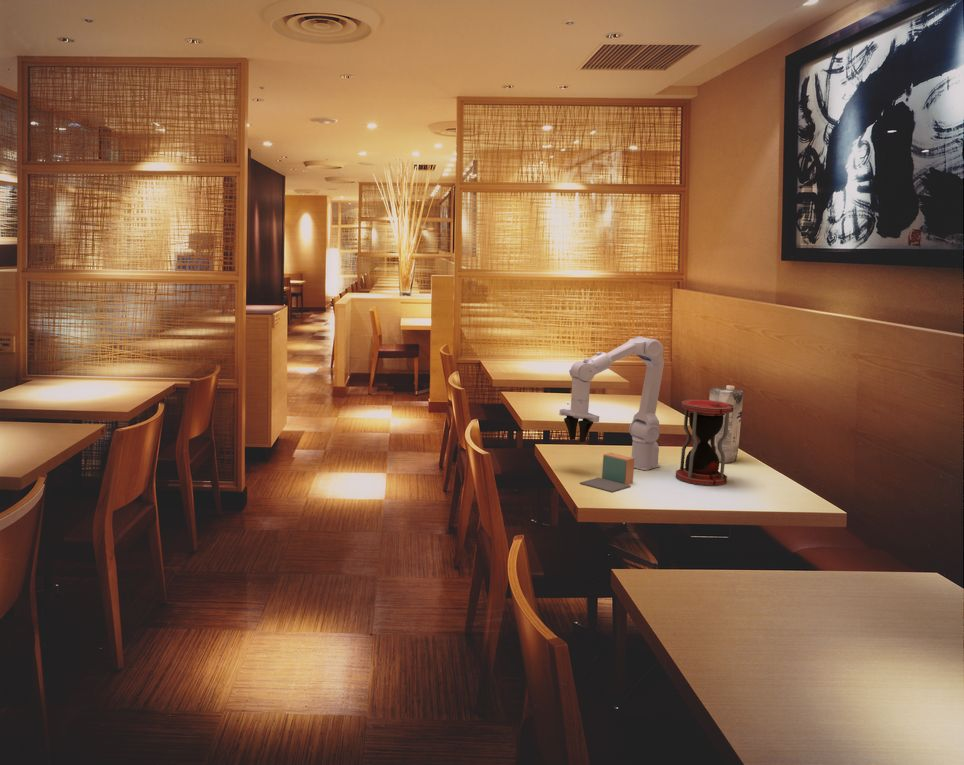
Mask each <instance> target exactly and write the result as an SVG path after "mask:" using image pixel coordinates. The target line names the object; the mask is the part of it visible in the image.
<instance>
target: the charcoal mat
mask: <svg viewBox="0 0 964 765" xmlns="http://www.w3.org/2000/svg"><path fill="white" fill-rule="evenodd" d="M579 485H583V486H586V487H590V488H594V489H598V490H602V491H605V492H609V493H615V492H618V491H621V490H625V489H629V488H631V487H632V486H631V485H630V484H627V485H626V484H622V483H618V482H615V481H611V480H607V479H603V478H602V477H596V478H591V479H588V480H584V481H581V482H579Z"/></svg>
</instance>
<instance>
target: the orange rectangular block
mask: <svg viewBox="0 0 964 765" xmlns="http://www.w3.org/2000/svg"><path fill="white" fill-rule="evenodd" d="M602 456H603V457H602V469H601V470H602V471H601V478H603V479H607V480H611V481H615V482H618V483H622V484H626V485H630V484H632V483H633V482H634V470H635V468H634V459H635V458H632V456H628V455H623V454H619V453H614V452H608V453H604V454H603V455H602ZM629 483H630V484H629Z"/></svg>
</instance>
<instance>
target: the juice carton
mask: <svg viewBox="0 0 964 765" xmlns="http://www.w3.org/2000/svg"><path fill="white" fill-rule="evenodd" d="M735 388H736V387H735V385H726V387H713V388H709V396H708V397H709V398H708V400H711V401H720V402H724V403H728V404H731V405H733V412H731V413H729V422H728V433H727V436H726V438H725V439H724V440H723V442H722V450H723V452H724V454H725V464H727V463H734V462H736V461H737V457H738V453H739V445H740V435H741V426H742V425H741V423H742V415H743V414H742V413H743V402H744V391H743V390H738V389H735ZM725 416H726V413H725V415H723V425H722V428H721V430H720V431H719V432H718V433H717V434H716V435H715V446H716V454H717V455H718V458H719V463H721V454H720V452H719V451H718V446H717V444H718V442H719V439H721V438H722V436H723V434H724V426H725ZM708 444H709V445H710V446H711V440H709V441H708ZM711 447H712V446H711Z"/></svg>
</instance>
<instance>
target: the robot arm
mask: <svg viewBox="0 0 964 765" xmlns="http://www.w3.org/2000/svg"><path fill="white" fill-rule="evenodd" d="M663 352H664V345H663V344H662V342H660V341H659V340H658V339H657V338H649V337H643V336H641V335H639V336H635V337H634V338H631V339H630V338H629V340H628V341H626V342H624V343H623V344H621V345H620V346H617V347H616V348H614V349H612V350H610V351H608V352H604V351H597V352H595V354H594V355H593V356H590V357H589V358H587V357H586V358H584V359H583V360H582V361H576V362H574V363H573V364H572V365H571V367H570V369H569V375H570V377H571V383H572V384H571V395H570V396H571V398H570V409H566V408H561V409H559V416H564V418H563V421H564V423H565V425H566V429H567V433H568V437H569V440H571V441H574V440H576V437H577V428H578V426H579V443H584V442H586V439H587V436H588V433H589V431H590V429H591V428H592V426H593V425H594V423H599V422H600V416H599V415H596V414H593V413H590V412H589V408H590V407H589V406H590V392H591V391H590V390H591V381H592V380H593V379H594V378H595V376H596V375H598V374H599V373H602V372H604V371H605V370H608V369H610V368H611V366H612V363H614V362H616V361H620V360H621V359H624V358H626V357H628V356H630V355H635V356H637V358H639V359H641V361H642V362H643V364H645V366H646V370H645V375H644V381H643V385H642V390H641V391H642V392H641V397H640V401H639V402H640V404H639V408H638V411H637V413H635V414H634V415H633V419H632V421H631V422H630V425H629V427H628V428H629V429H628V431H629V432H628V433H629V434H630V435H631V439H632V444H631V445H632V446H631V447H632V448H631V457H632V458H635V459H634V469H638V470H642V471H648V470H652V469H655V468H658V467H659V468H660V467H661V465H660V464H658V463H659V453H660V447H659V444H658V442H657V440H658V439H659V438H660V421H659V419H658V417H657V415H656V412H657V407H658V401H659V394H660V389H661V384H662V378H663V372H664V366H665V360H664V354H663Z"/></svg>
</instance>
